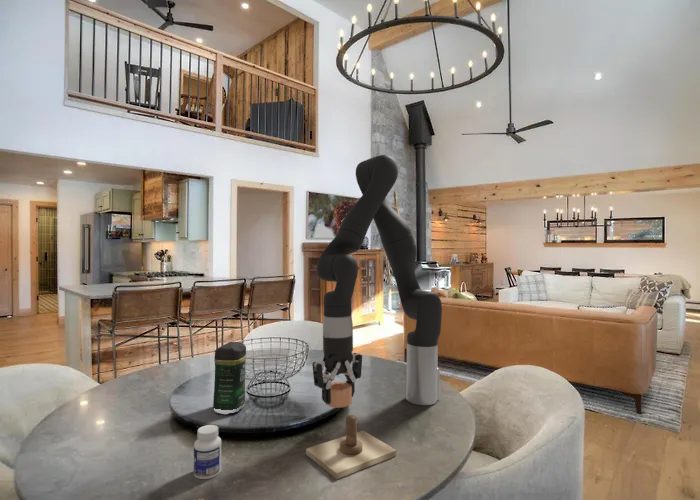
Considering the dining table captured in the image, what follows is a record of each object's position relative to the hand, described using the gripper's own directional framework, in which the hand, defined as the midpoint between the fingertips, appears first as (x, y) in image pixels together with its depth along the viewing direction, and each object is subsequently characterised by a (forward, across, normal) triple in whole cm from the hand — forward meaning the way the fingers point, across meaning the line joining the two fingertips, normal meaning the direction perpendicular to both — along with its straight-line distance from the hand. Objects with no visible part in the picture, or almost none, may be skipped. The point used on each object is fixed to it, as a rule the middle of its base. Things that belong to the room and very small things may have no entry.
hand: (338, 399), depth 101 cm
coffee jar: (+8, +17, -29) cm, 34 cm away
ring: (+1, 0, 0) cm, 1 cm away
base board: (+8, +5, +11) cm, 15 cm away
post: (+7, +5, +11) cm, 14 cm away
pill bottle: (+7, +33, 0) cm, 33 cm away
